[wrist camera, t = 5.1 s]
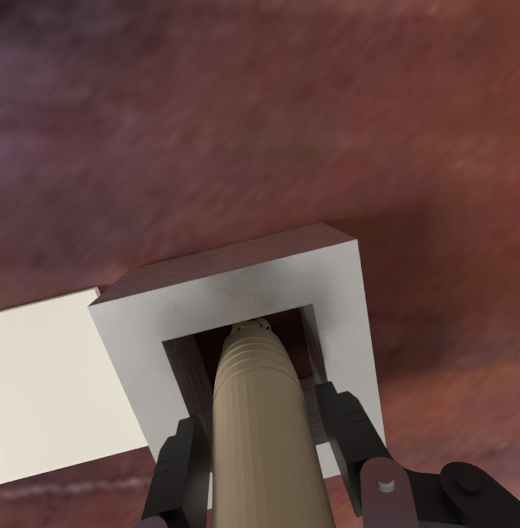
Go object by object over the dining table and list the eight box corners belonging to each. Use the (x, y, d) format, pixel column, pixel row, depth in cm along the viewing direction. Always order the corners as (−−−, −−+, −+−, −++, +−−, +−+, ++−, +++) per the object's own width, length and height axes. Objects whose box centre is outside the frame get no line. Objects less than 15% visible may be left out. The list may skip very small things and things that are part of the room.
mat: (-100, 335, 16) (-107, 339, 16) (97, 286, 17) (94, 289, 16) (-3, 479, 20) (-8, 485, 19) (161, 437, 20) (159, 442, 19)
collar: (129, 269, 16) (86, 306, 12) (321, 221, 17) (357, 239, 12) (192, 435, 20) (179, 516, 15) (351, 394, 20) (388, 461, 15)
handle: (220, 283, 17) (159, 819, 3) (315, 325, 18) (604, 841, 4) (186, 350, 18) (11, 1002, 4) (278, 386, 19) (407, 973, 5)
